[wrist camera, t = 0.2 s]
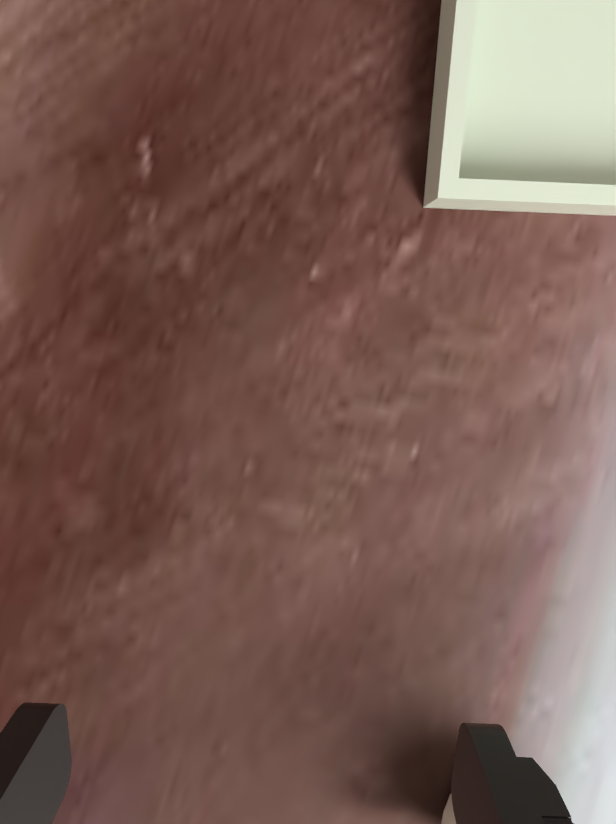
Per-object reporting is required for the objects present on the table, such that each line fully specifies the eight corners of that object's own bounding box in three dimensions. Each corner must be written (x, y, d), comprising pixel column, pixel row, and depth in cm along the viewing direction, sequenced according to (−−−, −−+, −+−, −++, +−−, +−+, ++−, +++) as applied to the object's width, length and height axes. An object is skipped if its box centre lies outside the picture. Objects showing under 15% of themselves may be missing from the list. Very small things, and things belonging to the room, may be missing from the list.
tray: (454, -147, 29) (476, -210, 26) (777, -128, 30) (844, -187, 26) (423, 207, 34) (437, 198, 31) (700, 219, 35) (747, 211, 31)
